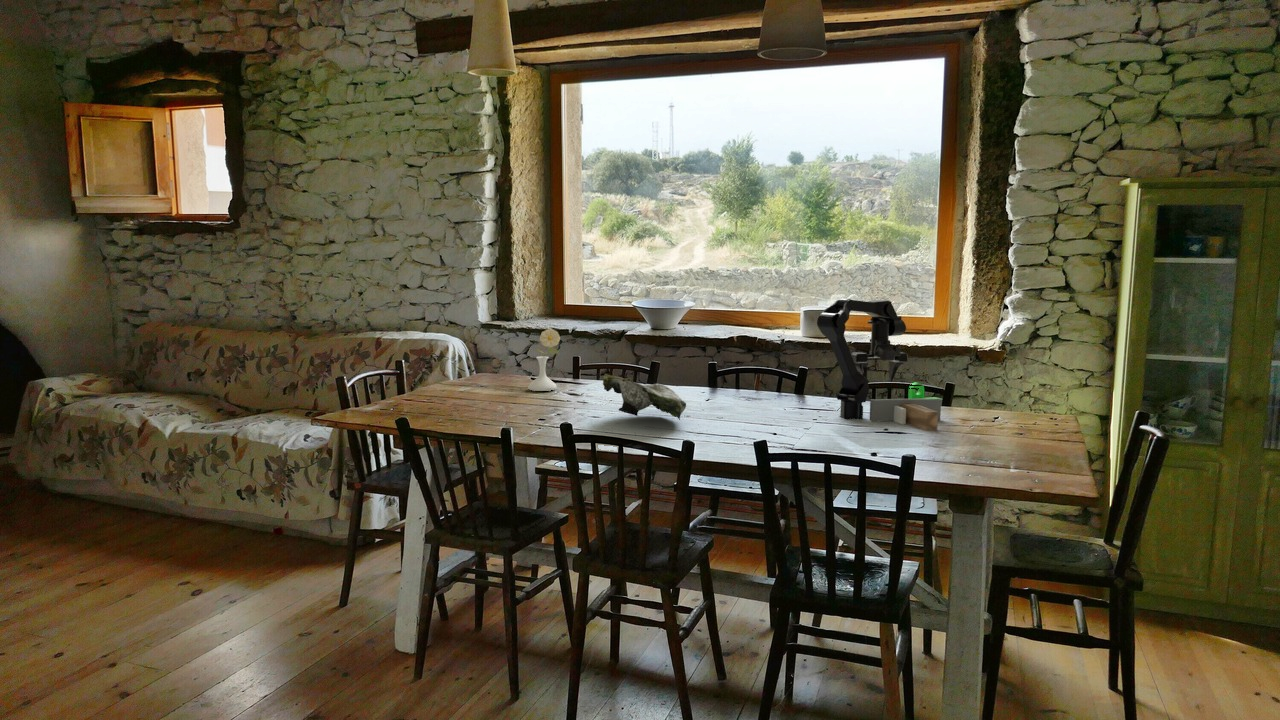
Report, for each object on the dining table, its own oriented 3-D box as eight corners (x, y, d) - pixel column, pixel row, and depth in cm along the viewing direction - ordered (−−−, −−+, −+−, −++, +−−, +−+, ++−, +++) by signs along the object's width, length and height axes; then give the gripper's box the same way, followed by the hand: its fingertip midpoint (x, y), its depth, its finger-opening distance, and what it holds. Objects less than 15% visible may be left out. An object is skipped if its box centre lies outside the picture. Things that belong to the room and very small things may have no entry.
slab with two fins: (879, 424, 279) (880, 403, 278) (869, 420, 287) (870, 399, 286) (949, 423, 283) (950, 402, 282) (937, 418, 290) (938, 398, 290)
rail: (925, 431, 270) (926, 412, 270) (901, 421, 286) (901, 403, 285) (937, 430, 271) (937, 411, 270) (912, 421, 287) (913, 403, 286)
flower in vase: (524, 393, 339) (523, 329, 336) (532, 389, 350) (532, 327, 348) (556, 394, 337) (556, 330, 334) (564, 390, 348) (564, 328, 346)
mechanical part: (918, 406, 316) (919, 384, 315) (908, 403, 322) (908, 382, 321) (945, 404, 320) (946, 383, 319) (934, 402, 326) (935, 381, 325)
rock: (581, 394, 277) (597, 351, 280) (613, 419, 303) (626, 379, 307) (665, 415, 265) (679, 370, 269) (690, 439, 292) (703, 398, 296)
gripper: (863, 339, 287) (862, 385, 289) (916, 338, 290) (914, 384, 292) (850, 336, 298) (848, 381, 300) (901, 335, 301) (899, 380, 303)
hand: (878, 382), depth 298 cm, fingers open, 9 cm apart
